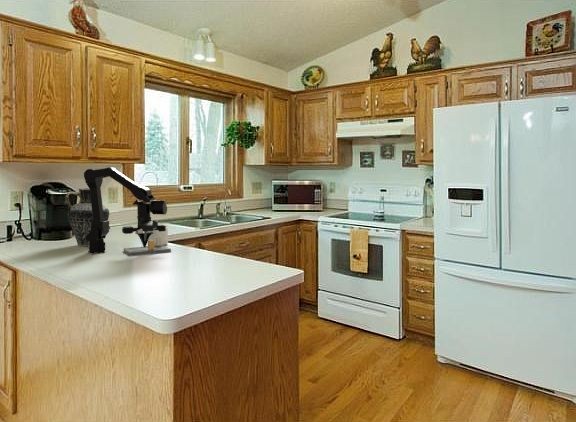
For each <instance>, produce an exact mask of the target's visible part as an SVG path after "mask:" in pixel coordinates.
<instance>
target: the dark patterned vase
mask: <svg viewBox="0 0 576 422" xmlns="http://www.w3.org/2000/svg"><path fill="white" fill-rule="evenodd" d="M71 195H72V196H76V197H79V201H78V202H77V203H75V204H73V205H72V204H71V202H70V196H71ZM64 199H65V202H66V204H67V213H66V214H67V219H68V222H69V224H70V228H71V229H72V233H73V235H74V238H75V240H76V243H77V246H81V247H89V243H88V241H87V240H86V238H85V236H86V235H87V234H88V233H89V232H90V230H91V223H92V220H93V215H92V206H91V198H90V190H89V187H88V188H87V187H86V188H85V187H84V188H78V191H70V192H67V193H66V195H65V198H64ZM102 205H103V204H102ZM103 214H104V218H105V220H106V221H109V218H110V211H109V208H108V207H107V206H106V205H103Z"/></svg>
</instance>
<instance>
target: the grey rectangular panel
mask: <svg viewBox="0 0 576 422" xmlns="http://www.w3.org/2000/svg"><path fill="white" fill-rule="evenodd" d="M171 251H172V248H170V247H168V246H167V245H165V246H164V245H161V246H154V249H148V245H146V247H143V246H137V247H135V246H134V247H127V248H126V247H124V248H123V252H124V253H125V254H127V256H130V257H132V256H142V255H153V254H163V253H171Z"/></svg>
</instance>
